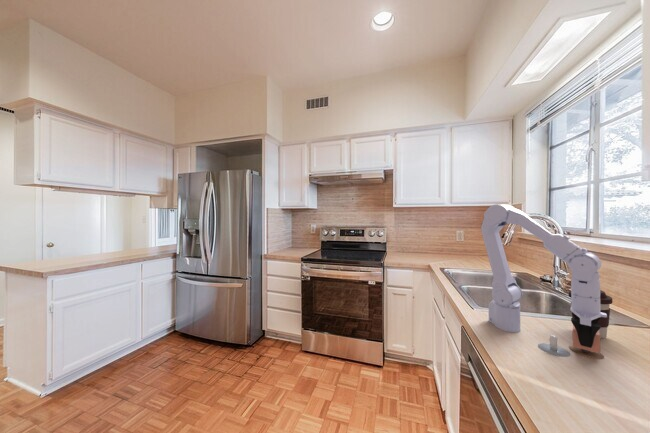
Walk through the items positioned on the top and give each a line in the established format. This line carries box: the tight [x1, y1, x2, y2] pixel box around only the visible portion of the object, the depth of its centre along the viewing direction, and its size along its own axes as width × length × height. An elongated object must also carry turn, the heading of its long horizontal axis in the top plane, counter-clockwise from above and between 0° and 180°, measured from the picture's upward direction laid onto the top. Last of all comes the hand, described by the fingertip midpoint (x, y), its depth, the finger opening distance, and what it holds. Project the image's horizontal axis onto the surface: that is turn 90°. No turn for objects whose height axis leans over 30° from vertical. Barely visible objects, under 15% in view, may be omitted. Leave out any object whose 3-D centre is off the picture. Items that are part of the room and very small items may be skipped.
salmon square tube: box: [572, 324, 601, 354], centre depth 70 cm, size 5×5×5 cm
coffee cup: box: [567, 289, 613, 339], centre depth 81 cm, size 10×10×15 cm
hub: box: [568, 344, 605, 360], centre depth 70 cm, size 7×7×5 cm
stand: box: [537, 334, 571, 358], centre depth 71 cm, size 7×7×5 cm
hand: (585, 342), depth 70 cm, fingers closed on salmon square tube, 5 cm apart
